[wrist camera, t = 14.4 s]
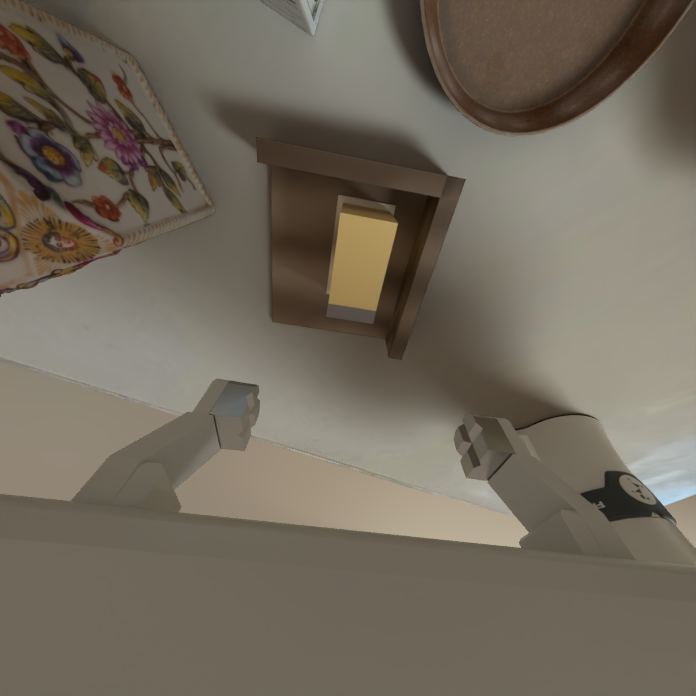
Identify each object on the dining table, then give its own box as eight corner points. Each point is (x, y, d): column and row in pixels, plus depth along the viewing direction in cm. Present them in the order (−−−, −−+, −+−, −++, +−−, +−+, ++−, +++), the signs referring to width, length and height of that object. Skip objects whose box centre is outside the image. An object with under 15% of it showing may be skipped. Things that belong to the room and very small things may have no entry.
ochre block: (390, 211, 25) (398, 223, 20) (370, 297, 30) (372, 323, 25) (343, 202, 25) (340, 212, 20) (331, 291, 30) (326, 316, 25)
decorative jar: (21, 109, 22) (-653, 3, 7) (132, 47, 20) (-518, -287, 5) (129, 250, 28) (-111, 343, 14) (221, 215, 26) (52, 283, 12)
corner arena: (396, 338, 34) (401, 359, 31) (273, 319, 33) (263, 339, 29) (448, 176, 24) (465, 179, 20) (272, 141, 23) (256, 137, 19)
